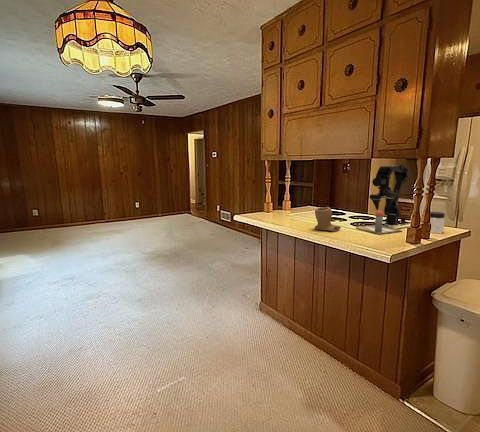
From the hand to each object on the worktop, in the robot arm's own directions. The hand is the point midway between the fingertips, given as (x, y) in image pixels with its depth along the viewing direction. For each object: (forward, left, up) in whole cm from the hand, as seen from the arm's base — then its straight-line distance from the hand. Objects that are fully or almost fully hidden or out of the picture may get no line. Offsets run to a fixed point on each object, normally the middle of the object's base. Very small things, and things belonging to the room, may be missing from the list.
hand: (382, 209), depth 196 cm
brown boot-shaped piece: (+39, -8, -12) cm, 42 cm away
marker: (+15, +12, -11) cm, 22 cm away
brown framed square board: (+9, +6, -12) cm, 16 cm away
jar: (-18, +24, -12) cm, 32 cm away
